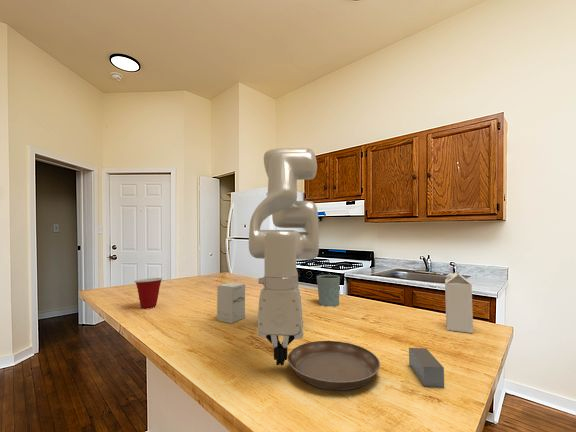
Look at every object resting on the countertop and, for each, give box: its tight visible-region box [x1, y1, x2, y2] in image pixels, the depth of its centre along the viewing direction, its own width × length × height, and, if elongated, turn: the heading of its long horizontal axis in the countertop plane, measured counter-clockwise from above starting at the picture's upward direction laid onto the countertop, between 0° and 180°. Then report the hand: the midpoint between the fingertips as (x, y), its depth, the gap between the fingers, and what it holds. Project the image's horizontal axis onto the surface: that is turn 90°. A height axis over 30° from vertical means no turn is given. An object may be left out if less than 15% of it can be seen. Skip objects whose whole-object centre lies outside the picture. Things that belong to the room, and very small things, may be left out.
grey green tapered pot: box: [316, 274, 341, 307], centre depth 130 cm, size 10×10×12 cm
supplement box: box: [216, 282, 246, 324], centre depth 109 cm, size 7×7×13 cm
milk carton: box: [444, 268, 474, 334], centre depth 98 cm, size 7×7×19 cm
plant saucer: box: [287, 340, 381, 391], centre depth 68 cm, size 21×21×3 cm
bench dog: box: [408, 347, 445, 388], centre depth 66 cm, size 4×10×4 cm, turn 174°
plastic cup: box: [134, 277, 163, 310], centre depth 127 cm, size 11×11×12 cm
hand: (280, 362), depth 70 cm, fingers closed
